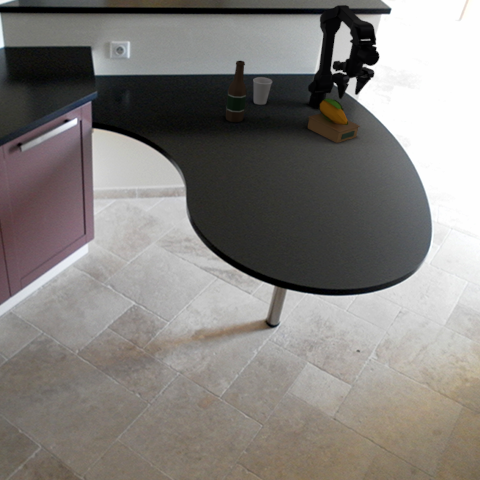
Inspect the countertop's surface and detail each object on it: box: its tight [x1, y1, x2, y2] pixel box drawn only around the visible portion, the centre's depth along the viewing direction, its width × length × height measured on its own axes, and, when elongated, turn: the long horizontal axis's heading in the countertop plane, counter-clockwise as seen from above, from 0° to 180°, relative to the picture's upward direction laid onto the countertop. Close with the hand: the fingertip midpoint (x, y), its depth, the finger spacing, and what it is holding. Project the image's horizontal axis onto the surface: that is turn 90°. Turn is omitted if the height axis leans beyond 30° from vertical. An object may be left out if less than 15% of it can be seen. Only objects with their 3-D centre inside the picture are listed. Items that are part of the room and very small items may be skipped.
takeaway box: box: [307, 112, 361, 144], centre depth 236 cm, size 17×12×5 cm
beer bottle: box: [225, 60, 247, 123], centre depth 239 cm, size 8×8×24 cm
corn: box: [318, 97, 348, 125], centre depth 233 cm, size 7×8×20 cm
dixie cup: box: [252, 76, 273, 106], centre depth 260 cm, size 8×8×10 cm
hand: (348, 96), depth 235 cm, fingers open, 9 cm apart
